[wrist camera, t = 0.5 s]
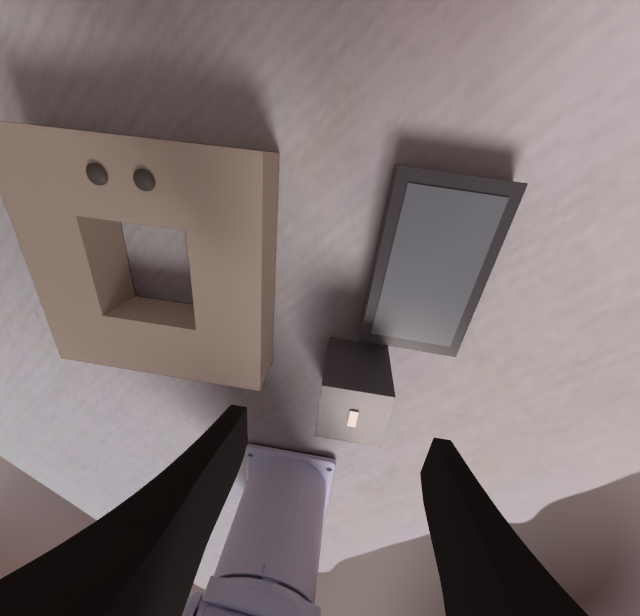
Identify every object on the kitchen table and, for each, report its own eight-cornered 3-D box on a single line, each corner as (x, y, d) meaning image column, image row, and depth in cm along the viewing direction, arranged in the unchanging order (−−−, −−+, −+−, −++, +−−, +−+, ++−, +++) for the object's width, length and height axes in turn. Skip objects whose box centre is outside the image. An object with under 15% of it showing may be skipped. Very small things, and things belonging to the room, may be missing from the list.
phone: (447, 339, 20) (455, 357, 18) (359, 324, 20) (359, 341, 19) (508, 180, 16) (528, 183, 14) (394, 164, 16) (399, 165, 14)
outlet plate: (272, 363, 22) (259, 392, 19) (95, 335, 23) (59, 359, 20) (279, 153, 16) (261, 151, 13) (35, 124, 17) (-31, 117, 14)
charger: (376, 390, 22) (381, 449, 18) (323, 381, 22) (314, 437, 18) (387, 345, 20) (395, 398, 16) (329, 337, 21) (321, 386, 16)
